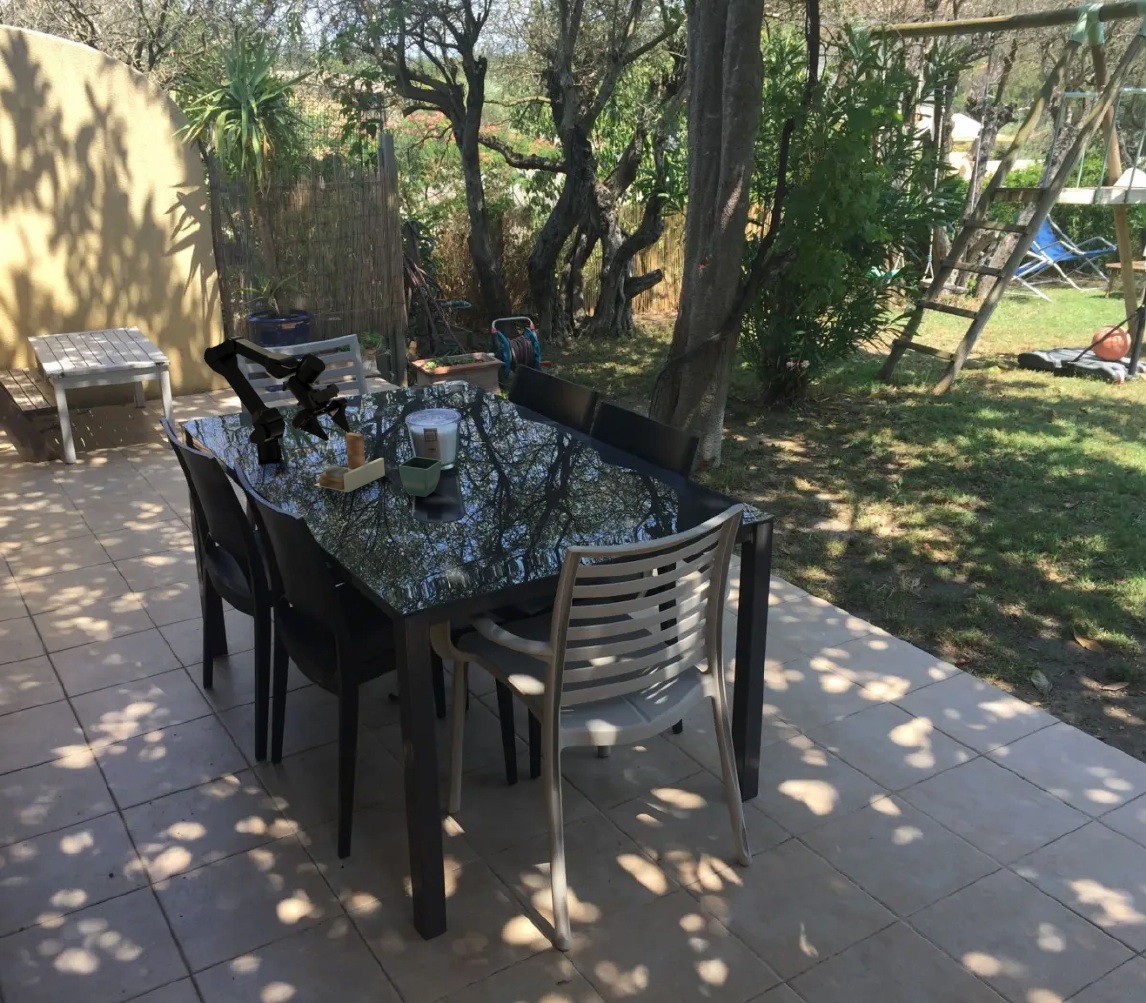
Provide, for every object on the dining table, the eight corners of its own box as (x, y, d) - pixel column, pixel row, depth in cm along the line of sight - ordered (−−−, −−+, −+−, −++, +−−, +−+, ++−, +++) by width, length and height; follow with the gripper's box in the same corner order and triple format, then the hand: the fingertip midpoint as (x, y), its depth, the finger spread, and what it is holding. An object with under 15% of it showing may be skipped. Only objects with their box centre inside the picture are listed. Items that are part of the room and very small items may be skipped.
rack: (314, 488, 273) (312, 467, 271) (351, 471, 287) (350, 452, 284) (348, 495, 268) (346, 474, 266) (384, 478, 282) (383, 458, 279)
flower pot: (443, 490, 273) (442, 459, 270) (428, 501, 265) (427, 469, 262) (414, 486, 276) (413, 456, 272) (399, 497, 268) (397, 465, 265)
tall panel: (348, 474, 281) (345, 434, 277) (353, 472, 283) (350, 432, 279) (361, 477, 279) (358, 436, 275) (365, 475, 281) (363, 434, 277)
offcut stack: (319, 485, 273) (317, 468, 271) (332, 479, 277) (330, 463, 276) (342, 490, 269) (340, 473, 268) (354, 484, 274) (353, 467, 272)
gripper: (295, 383, 269) (330, 427, 268) (340, 369, 284) (374, 411, 283) (276, 407, 275) (311, 451, 274) (321, 392, 290) (354, 434, 289)
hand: (338, 436), depth 280 cm, fingers open, 9 cm apart
